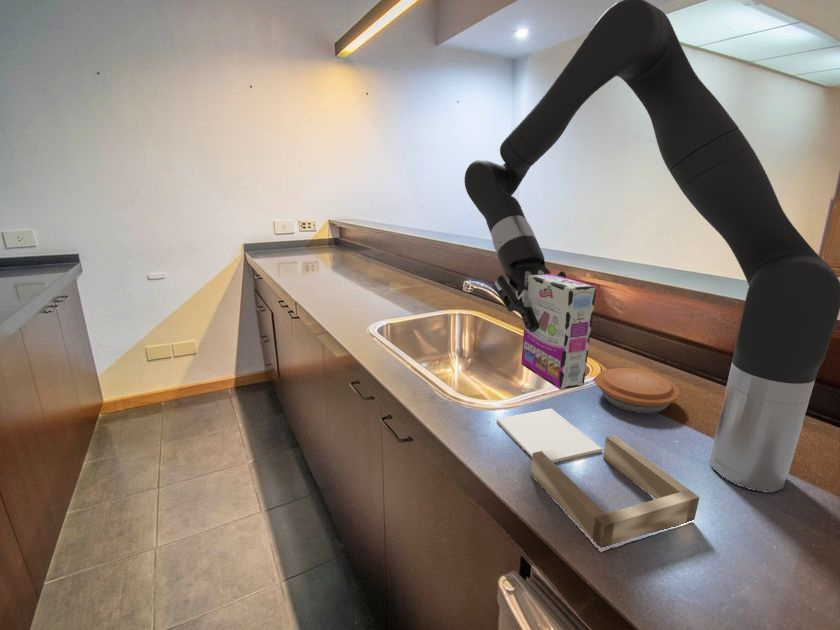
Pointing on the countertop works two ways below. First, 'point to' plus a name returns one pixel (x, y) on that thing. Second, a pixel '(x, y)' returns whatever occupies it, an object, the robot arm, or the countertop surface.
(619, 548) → the countertop surface
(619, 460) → the frame
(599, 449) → the mat
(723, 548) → the countertop surface
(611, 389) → the pie
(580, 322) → the candy bar box
